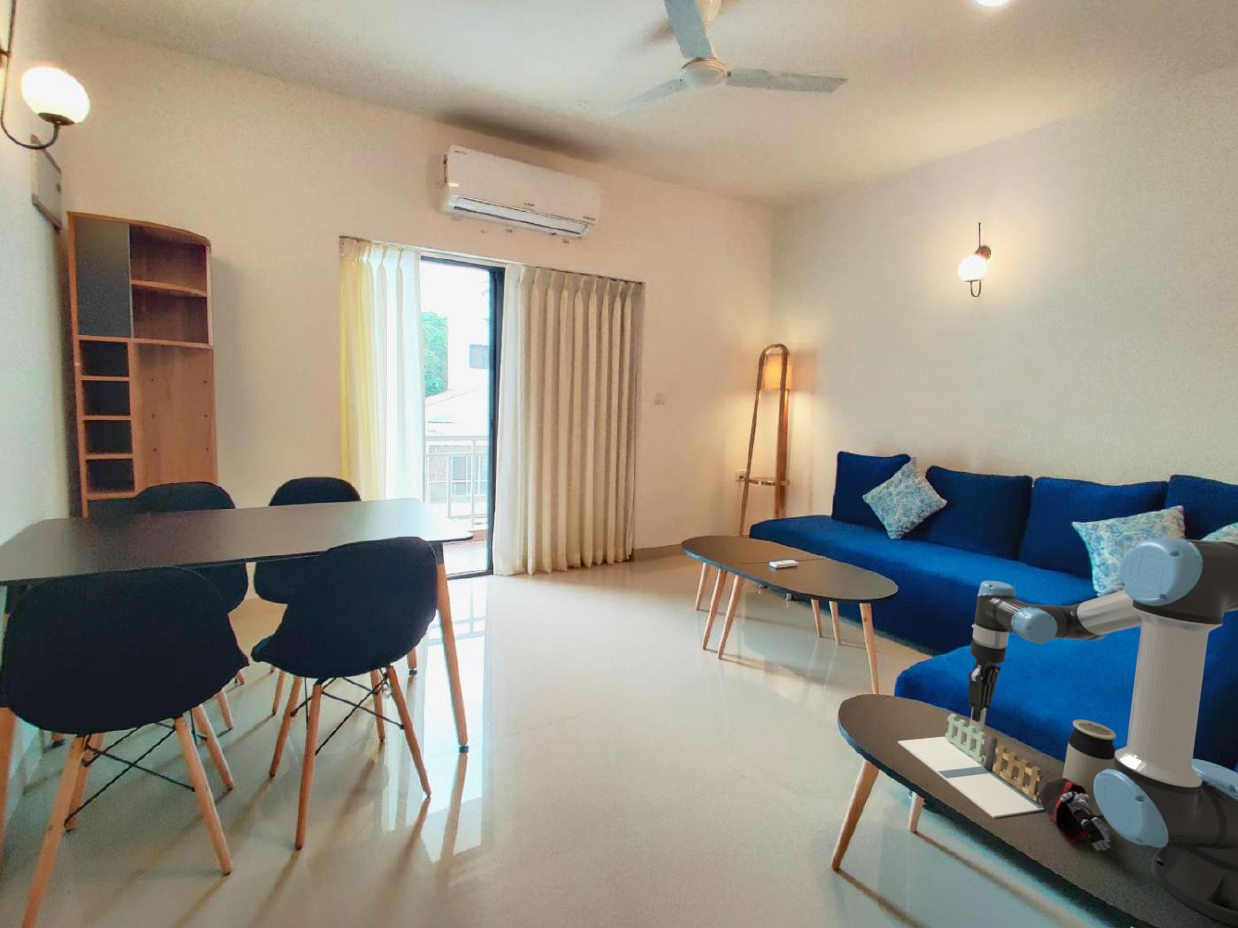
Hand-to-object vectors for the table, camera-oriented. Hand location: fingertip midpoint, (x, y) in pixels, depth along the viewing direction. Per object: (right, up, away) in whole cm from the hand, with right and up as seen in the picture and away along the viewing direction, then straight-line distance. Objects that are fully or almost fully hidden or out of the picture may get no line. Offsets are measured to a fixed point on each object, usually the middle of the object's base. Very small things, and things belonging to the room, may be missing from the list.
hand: (975, 731), depth 152 cm
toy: (+2, -8, -29) cm, 30 cm away
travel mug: (+12, -8, -20) cm, 24 cm away
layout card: (-8, -5, -11) cm, 14 cm away
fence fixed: (-1, -6, -15) cm, 16 cm away
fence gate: (-5, -3, -3) cm, 6 cm away
